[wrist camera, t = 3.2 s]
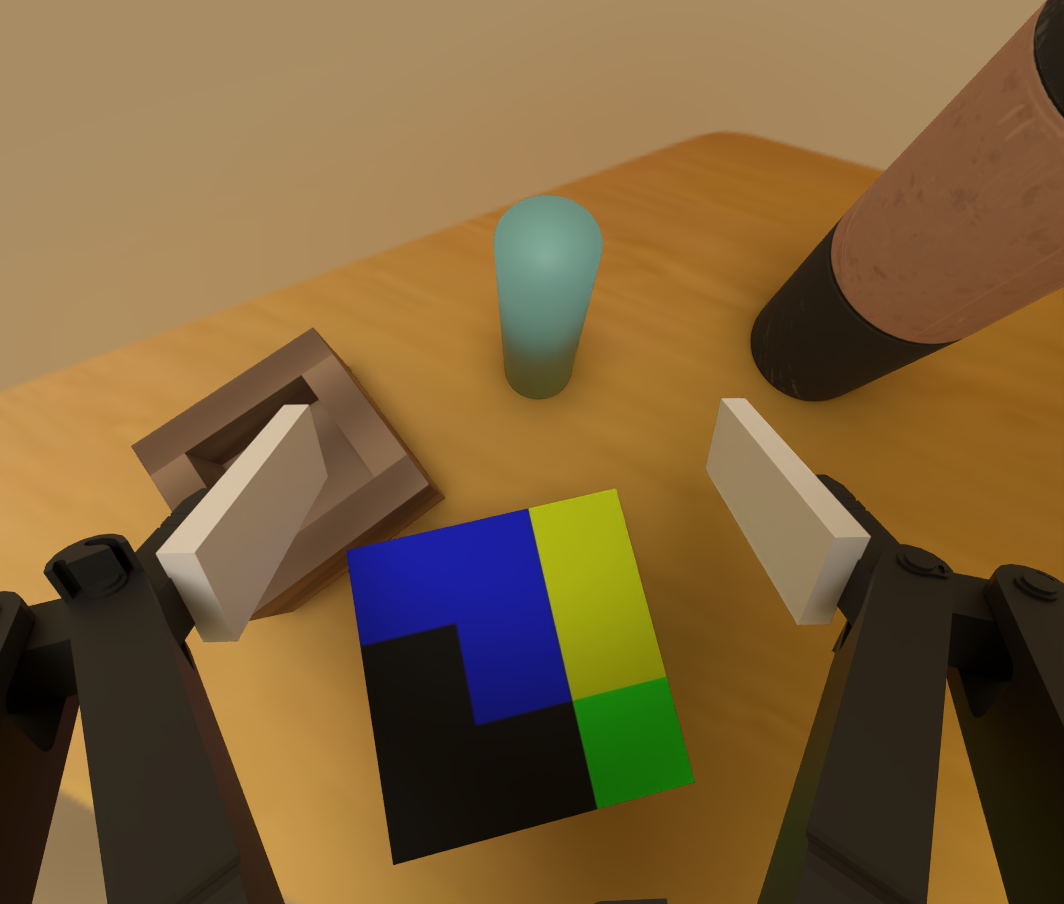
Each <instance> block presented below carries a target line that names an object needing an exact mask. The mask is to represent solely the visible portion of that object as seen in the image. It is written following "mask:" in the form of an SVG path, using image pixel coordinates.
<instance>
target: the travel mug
mask: <svg viewBox="0 0 1064 904" xmlns="http://www.w3.org/2000/svg"><path fill="white" fill-rule="evenodd" d="M1063 286H1064V0H1046V2H1045V3H1044V4H1043V5H1042V6H1041V7H1040V8H1039V9H1038V10H1037V11H1036V12H1035V13H1034V14H1033V15H1032V16H1031V17H1030V19H1029V20H1028V21H1027V22H1026V23H1025V24H1024V25H1023V26H1022V27H1021V28H1020V29H1019V30H1018V31H1017V32H1016V33H1015V34H1014V36H1012V38H1011V39H1010V40H1009V41H1008V42H1007V43H1006V44H1005V45H1004V46H1003V47H1002V48H1001V49H1000V50H999V51H998V52H997V54H996V55H995V56H994V57H993V58H992V59H991V60H990V61H989V62H988V63H987V64H986V65H985V66H984V67H983V68H982V69H981V70H980V71H979V72H978V74H977V75H976V76H975V77H974V78H973V79H972V80H971V81H970V82H969V83H968V84H967V85H966V86H965V87H964V88H963V89H962V90H961V92H960V93H959V94H958V95H957V96H956V97H955V98H954V99H953V100H952V101H951V102H950V103H949V104H948V105H947V106H946V107H945V109H943V111H942V112H941V113H940V114H939V115H938V116H937V117H936V118H935V119H934V120H933V121H932V122H931V123H930V124H929V125H928V127H926V129H925V130H924V131H923V132H922V133H921V134H920V135H919V136H918V137H917V138H916V139H915V140H914V141H913V142H912V143H911V144H910V146H909V147H908V148H907V149H906V150H905V151H904V152H903V153H902V154H901V155H900V156H899V157H898V158H897V159H896V160H895V161H894V162H893V164H892V165H891V166H890V167H889V168H888V169H887V170H886V171H885V172H884V173H883V174H882V175H881V176H880V177H879V178H878V179H877V180H876V181H875V182H874V184H873V185H872V186H871V187H870V188H869V189H868V190H867V191H866V192H865V193H864V194H863V195H862V196H861V197H860V198H859V199H858V200H857V202H856V203H855V204H854V205H853V206H852V207H851V208H850V209H849V210H848V211H847V212H846V214H845V215H844V216H843V217H842V218H841V219H840V220H839V222H838V223H837V224H836V225H835V226H834V227H833V228H832V230H831V231H830V232H829V233H828V234H827V235H826V237H825V238H824V239H823V240H822V241H821V242H820V243H819V245H818V246H817V247H816V248H815V249H814V250H813V252H812V253H811V254H810V255H809V256H808V257H807V258H806V260H805V261H804V262H803V263H802V264H801V265H800V267H799V268H798V269H797V270H796V271H795V272H794V273H793V275H792V276H791V277H790V278H789V279H788V280H787V282H786V283H785V284H784V285H783V286H782V287H781V288H780V290H779V291H778V292H777V293H776V294H775V295H774V297H773V298H772V299H771V300H770V301H769V303H768V304H767V305H766V306H765V307H764V308H763V310H762V311H761V312H760V314H759V316H758V317H757V319H756V321H755V323H754V326H753V330H752V335H751V348H752V353H753V357H754V360H755V362H756V364H757V366H758V368H759V370H760V371H761V373H762V374H763V375H764V377H765V378H766V379H767V380H768V381H769V382H770V383H771V384H772V385H773V386H775V387H776V388H777V389H779V390H780V391H782V392H784V393H785V394H788V395H790V396H792V397H795V398H798V399H803V400H810V401H820V400H828V399H832V398H835V397H838V396H841V395H843V394H845V393H848V392H850V391H852V390H854V389H856V388H859V387H861V386H863V385H865V384H867V383H869V382H871V381H874V380H876V379H878V378H880V377H882V376H884V375H886V374H888V373H891V372H893V371H895V370H897V369H899V368H901V367H903V366H906V365H908V364H910V363H912V362H914V361H916V360H918V359H920V358H923V357H925V356H927V355H929V354H931V353H933V352H935V351H938V350H940V349H942V348H944V347H946V346H948V345H950V344H953V343H955V342H957V341H959V340H961V339H963V338H965V337H967V336H969V335H971V334H973V333H975V332H977V331H979V330H981V329H983V328H985V327H987V326H989V325H991V324H992V323H994V322H996V321H998V320H1000V319H1002V318H1004V317H1006V316H1008V315H1010V314H1012V313H1014V312H1015V311H1017V310H1019V309H1021V308H1023V307H1025V306H1027V305H1029V304H1031V303H1033V302H1035V301H1037V300H1039V299H1040V298H1042V297H1044V296H1046V295H1048V294H1050V293H1052V292H1054V291H1056V290H1058V289H1060V288H1062V287H1063Z"/></svg>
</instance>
